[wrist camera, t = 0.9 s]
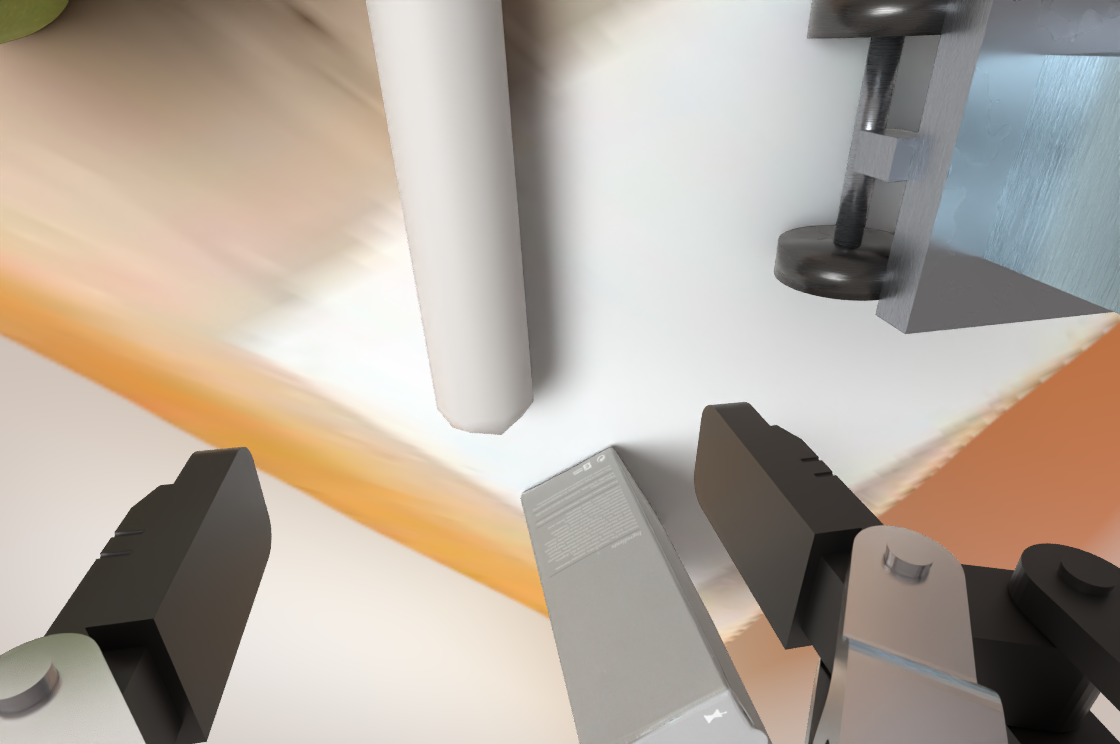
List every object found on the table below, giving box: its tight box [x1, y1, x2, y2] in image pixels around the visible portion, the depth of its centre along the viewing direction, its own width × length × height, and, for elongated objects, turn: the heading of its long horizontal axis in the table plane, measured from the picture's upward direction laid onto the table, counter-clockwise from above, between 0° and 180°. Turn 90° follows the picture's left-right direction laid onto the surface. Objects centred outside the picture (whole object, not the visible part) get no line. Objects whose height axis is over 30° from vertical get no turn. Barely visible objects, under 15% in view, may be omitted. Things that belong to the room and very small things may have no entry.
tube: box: [366, 0, 533, 435], centre depth 25 cm, size 5×5×25 cm
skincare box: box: [520, 447, 772, 744], centre depth 31 cm, size 8×7×16 cm
